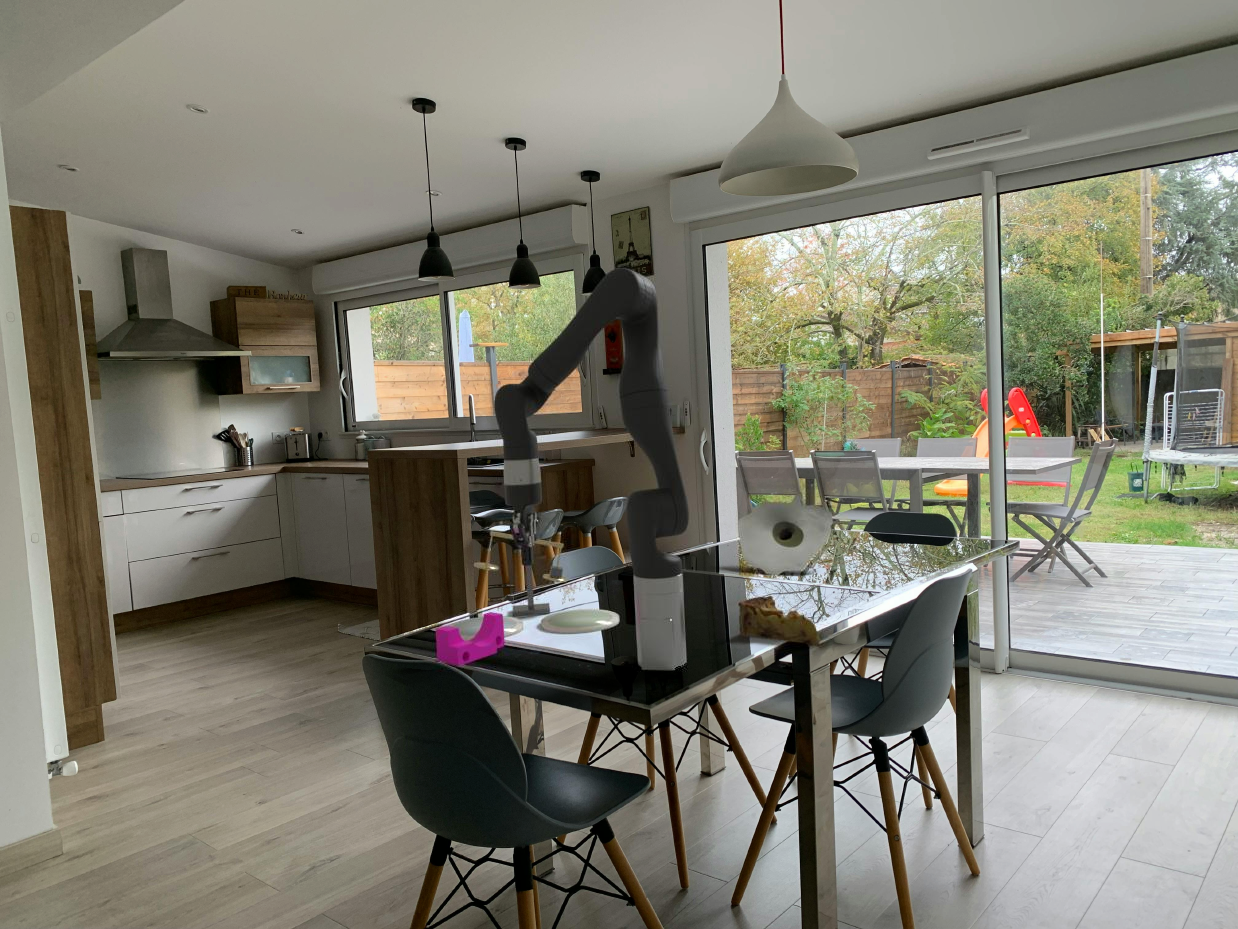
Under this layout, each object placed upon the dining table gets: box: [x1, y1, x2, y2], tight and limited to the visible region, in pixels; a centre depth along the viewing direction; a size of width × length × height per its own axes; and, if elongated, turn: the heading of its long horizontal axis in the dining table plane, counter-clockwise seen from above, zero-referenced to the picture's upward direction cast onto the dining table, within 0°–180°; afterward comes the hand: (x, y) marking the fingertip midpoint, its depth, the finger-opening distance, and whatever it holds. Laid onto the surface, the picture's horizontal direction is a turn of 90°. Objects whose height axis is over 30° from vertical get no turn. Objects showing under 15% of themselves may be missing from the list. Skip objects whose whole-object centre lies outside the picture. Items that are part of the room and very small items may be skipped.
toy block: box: [435, 611, 506, 667], centre depth 180 cm, size 15×6×8 cm, turn 142°
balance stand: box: [512, 565, 551, 617], centre depth 215 cm, size 6×9×17 cm, turn 96°
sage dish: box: [540, 608, 620, 634], centre depth 202 cm, size 18×18×1 cm
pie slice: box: [737, 595, 821, 645], centre depth 179 cm, size 18×10×8 cm, turn 38°
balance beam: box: [473, 530, 568, 583], centre depth 214 cm, size 6×23×9 cm, turn 96°
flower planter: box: [737, 491, 834, 576], centre depth 258 cm, size 16×30×28 cm
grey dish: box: [447, 616, 524, 641], centre depth 199 cm, size 18×18×1 cm
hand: (527, 564), depth 181 cm, fingers closed
